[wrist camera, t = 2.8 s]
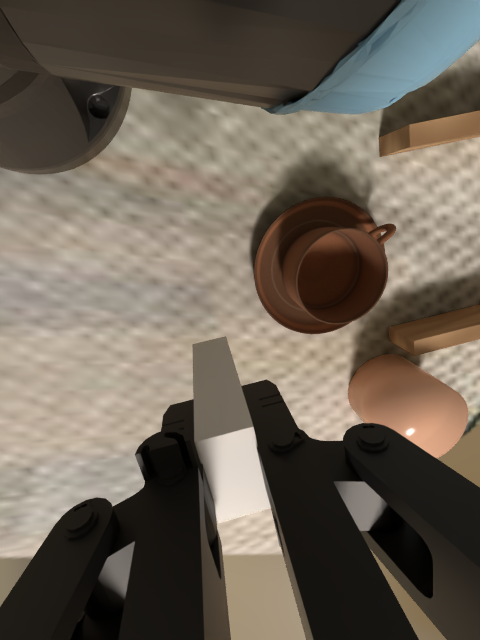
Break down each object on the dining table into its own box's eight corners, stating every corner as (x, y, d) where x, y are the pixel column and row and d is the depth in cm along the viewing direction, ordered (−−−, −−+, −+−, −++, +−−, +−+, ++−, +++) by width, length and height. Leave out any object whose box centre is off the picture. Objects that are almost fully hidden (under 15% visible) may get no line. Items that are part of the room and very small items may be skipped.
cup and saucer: (299, 169, 27) (329, 155, 21) (398, 245, 31) (446, 252, 25) (225, 288, 29) (234, 306, 24) (325, 347, 33) (354, 375, 27)
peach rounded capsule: (344, 364, 33) (382, 400, 27) (415, 346, 34) (469, 376, 27) (351, 427, 36) (387, 473, 29) (417, 409, 37) (466, 450, 30)
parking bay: (379, 137, 27) (409, 124, 23) (532, 106, 28) (585, 89, 25) (389, 340, 33) (414, 355, 30) (515, 308, 34) (555, 319, 31)
